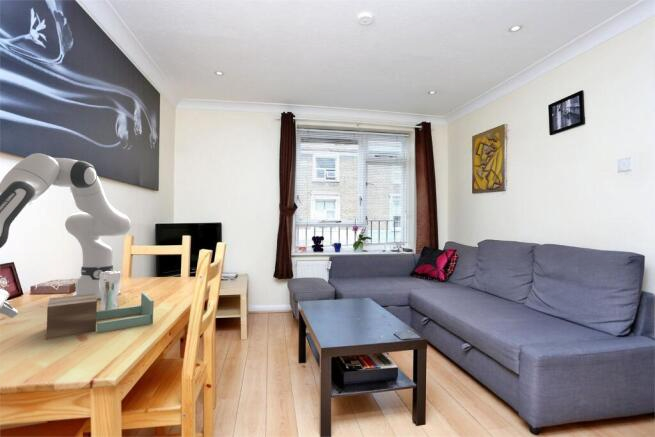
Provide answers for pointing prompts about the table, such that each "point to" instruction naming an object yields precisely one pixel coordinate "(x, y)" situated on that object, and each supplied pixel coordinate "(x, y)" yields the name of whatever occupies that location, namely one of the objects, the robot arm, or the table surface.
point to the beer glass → (109, 289)
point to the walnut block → (71, 315)
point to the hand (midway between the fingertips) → (15, 314)
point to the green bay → (143, 309)
